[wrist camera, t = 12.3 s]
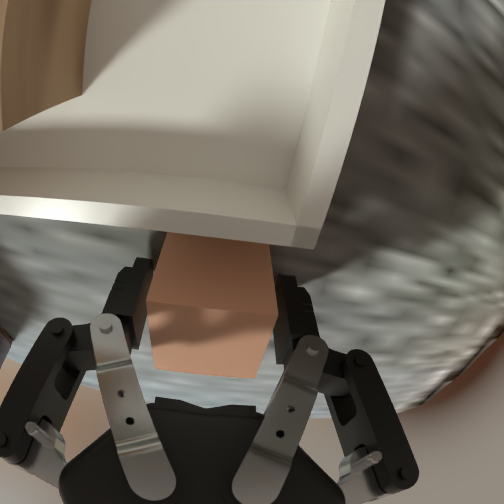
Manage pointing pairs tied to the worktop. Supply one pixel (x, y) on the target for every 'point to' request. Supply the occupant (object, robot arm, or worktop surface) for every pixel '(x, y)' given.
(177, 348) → the terracotta block
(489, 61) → the worktop surface
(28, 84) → the walnut block
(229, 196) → the tray
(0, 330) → the flask
